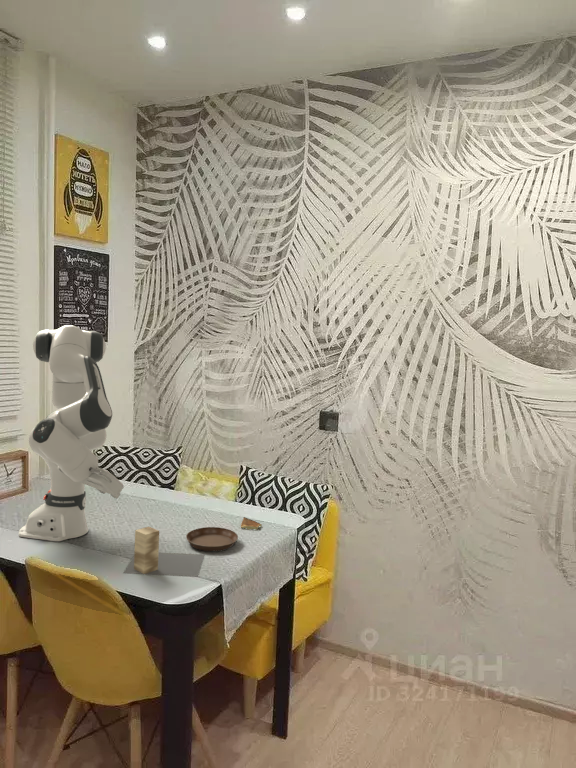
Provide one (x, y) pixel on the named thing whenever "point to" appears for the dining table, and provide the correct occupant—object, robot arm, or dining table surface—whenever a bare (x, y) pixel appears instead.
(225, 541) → the plant saucer
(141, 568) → the maple block
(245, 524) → the pie slice
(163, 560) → the rubber mat
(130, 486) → the dining table surface
